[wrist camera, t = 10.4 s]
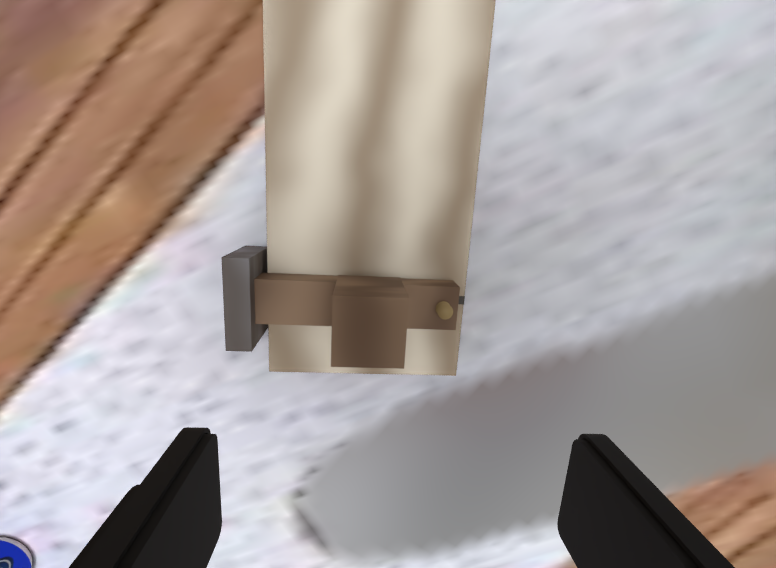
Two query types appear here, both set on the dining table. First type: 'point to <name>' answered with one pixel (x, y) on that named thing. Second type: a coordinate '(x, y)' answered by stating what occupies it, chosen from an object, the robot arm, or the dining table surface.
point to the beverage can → (14, 554)
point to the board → (372, 154)
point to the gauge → (333, 308)
